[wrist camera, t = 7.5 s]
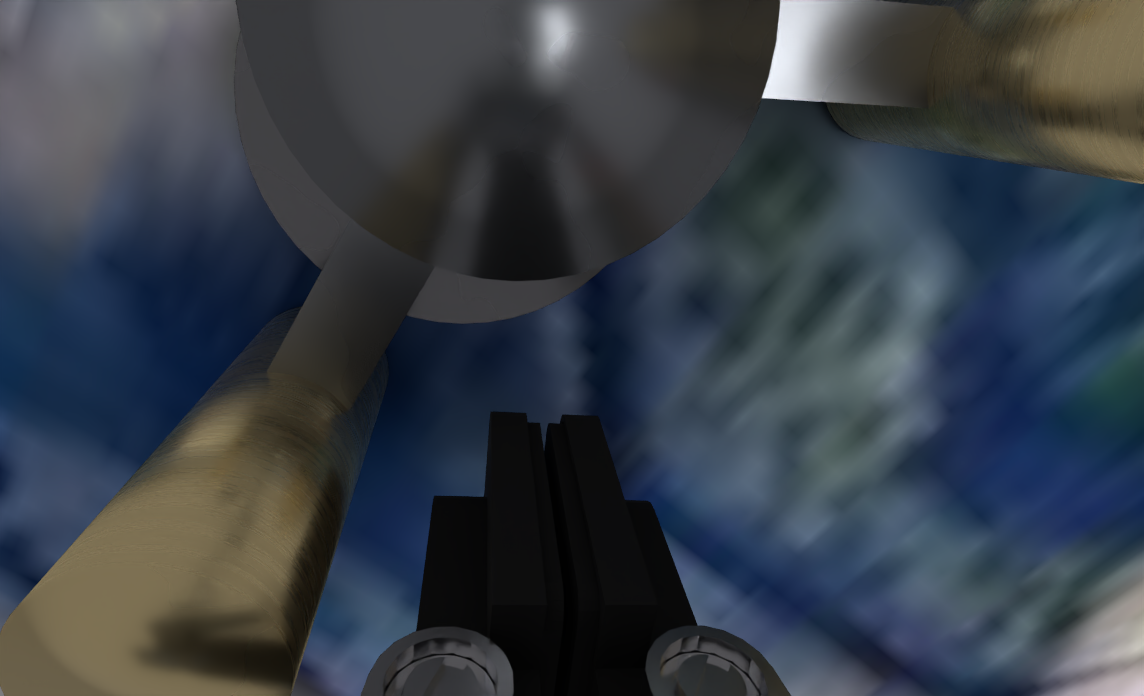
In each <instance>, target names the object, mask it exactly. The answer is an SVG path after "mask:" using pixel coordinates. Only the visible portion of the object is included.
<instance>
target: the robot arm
mask: <svg viewBox="0 0 1144 696" xmlns="http://www.w3.org/2000/svg"><path fill="white" fill-rule="evenodd" d="M361 696H791V695H790V693H789V692H788V690H787V689H786V687H785V686H784V684H783V683H782V681H781V679H780V678H779V676H778V675H777V673H776V672H775V670H774V669H773V667H772V666H771V665H770V664H769V663H768V661H767V660H766V659H765V658H764V657H763V655H762V654H761V653H760V652H759V651H757V650H756V649H755V648H754V647H752V646H751V645H750V644H748V643H747V642H746V641H744V640H743V639H741V638H739V637H737V636H735V635H732V634H730V633H728V632H726V631H724V630H720V629H716V628H711V627H707V626H698V625H697V623H696V620H695V617H694V615H693V612H692V609H691V607H690V604H689V601H688V599H687V596H686V593H685V591H684V588H683V585H682V583H681V580H680V577H679V575H678V572H677V569H676V567H675V564H674V561H673V558H672V556H671V553H670V550H669V548H668V545H667V542H666V540H665V537H664V534H663V532H662V529H661V526H660V524H659V521H658V518H657V516H656V513H655V510H654V508H653V506H652V504H651V503H650V502H648V501H636V500H625V499H624V496H623V493H622V489H621V486H620V483H619V480H618V477H617V474H616V470H615V467H614V464H613V461H612V458H611V454H610V451H609V448H608V445H607V442H606V439H605V435H604V432H603V429H602V426H601V423H600V419H599V417H598V416H584V415H562V417H561V420H560V424H555V423H549V424H548V427H547V433H546V442H545V451H544V448H543V441H542V434H541V427H540V423H529V422H527V414H526V413H513V412H491V413H490V423H489V436H488V450H487V464H486V478H485V492H484V497H469V496H434V499H433V505H432V513H431V521H430V529H429V536H428V544H427V552H426V560H425V567H424V575H423V583H422V591H421V598H420V606H419V614H418V622H417V629H416V632H413V633H411V634H409V635H407V636H405V637H403V638H401V639H400V640H398V641H396V642H394V643H393V644H392V645H391V646H390V647H389V648H388V649H387V650H386V651H384V652H383V653H382V654H381V655H380V656H379V658H378V659H377V661H376V663H375V664H374V666H373V668H372V669H371V671H370V673H369V675H368V678H367V680H366V683H365V685H364V688H363V691H362V693H361Z"/></svg>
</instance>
